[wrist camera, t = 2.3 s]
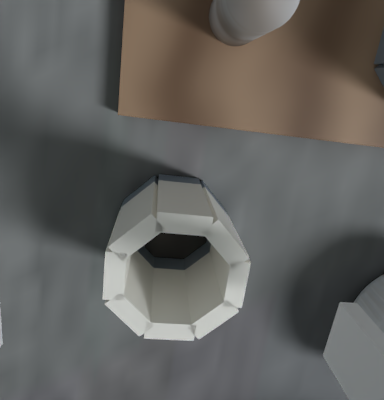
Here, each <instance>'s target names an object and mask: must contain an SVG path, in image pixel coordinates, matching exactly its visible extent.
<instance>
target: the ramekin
mask: <svg viewBox="0 0 384 400" xmlns="http://www.w3.org/2000/svg"><path fill="white" fill-rule="evenodd" d="M354 303H358V305H359V306H360V307H361V308H362V309H363V310H364V311H365V313H366V314H367V315H368V316H369V317H370V318H371V319H372V320H373V322H374V323H375V324H376V325H377V326H378V327H379V328H380V330H381V331H382V332H383V333H384V274H383V275H382V276H380V277H378V278H376V279H375V280H374V281H372V282H371V283H370V284H368V285H367V286H366V287H365V288H364V289H363V290H362V292H361V293H360V294H359V295H358V296H357V298H356V299H355V301H354Z"/></svg>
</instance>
